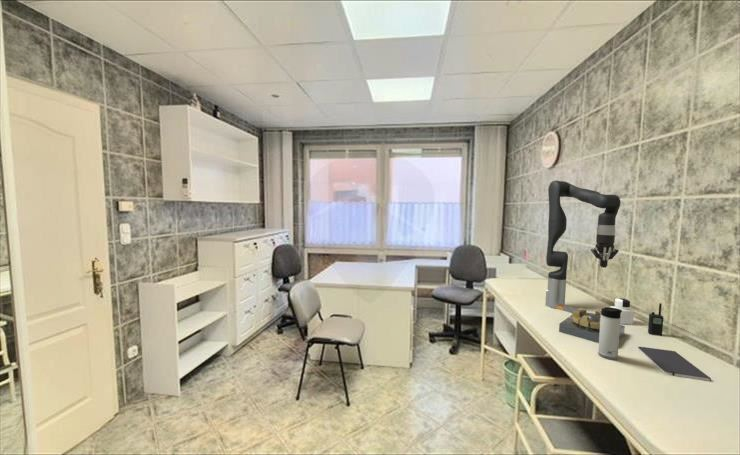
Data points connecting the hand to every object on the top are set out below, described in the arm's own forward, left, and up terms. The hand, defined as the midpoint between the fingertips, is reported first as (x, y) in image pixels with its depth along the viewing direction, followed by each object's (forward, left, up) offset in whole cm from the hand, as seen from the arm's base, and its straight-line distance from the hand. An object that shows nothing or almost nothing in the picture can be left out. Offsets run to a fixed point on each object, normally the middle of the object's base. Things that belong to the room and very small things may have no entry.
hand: (603, 267), depth 160 cm
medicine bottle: (+7, +9, -29) cm, 31 cm away
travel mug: (+12, -42, -29) cm, 53 cm away
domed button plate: (+1, -20, -29) cm, 35 cm away
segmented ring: (-3, -20, -24) cm, 31 cm away
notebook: (+29, -31, -30) cm, 52 cm away
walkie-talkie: (+21, +2, -29) cm, 36 cm away
